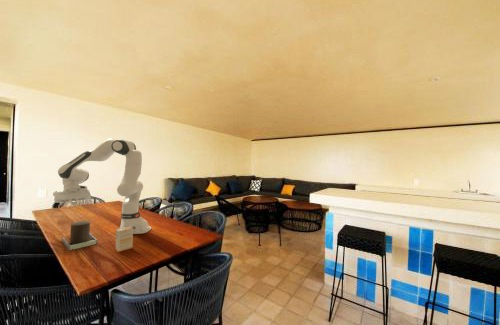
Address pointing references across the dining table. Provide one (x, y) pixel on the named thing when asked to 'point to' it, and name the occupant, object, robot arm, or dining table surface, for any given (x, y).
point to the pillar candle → (79, 232)
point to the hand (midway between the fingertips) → (74, 204)
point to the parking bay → (70, 247)
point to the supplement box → (124, 238)
